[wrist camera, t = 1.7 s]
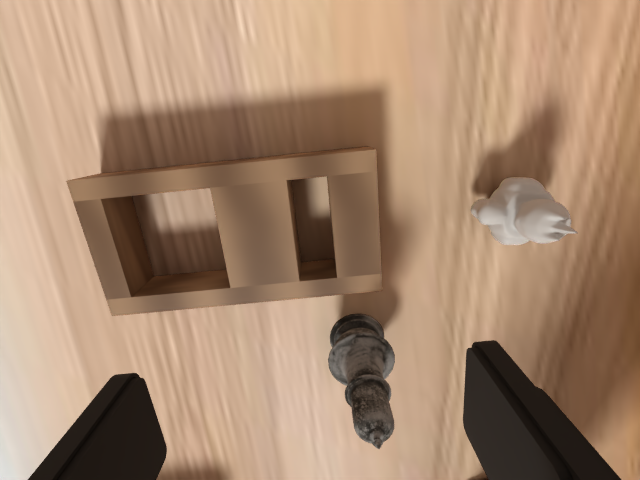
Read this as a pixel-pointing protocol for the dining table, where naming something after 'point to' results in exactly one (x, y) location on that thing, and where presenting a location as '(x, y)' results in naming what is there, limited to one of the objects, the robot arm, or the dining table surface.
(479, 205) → the white rounded irregular piece
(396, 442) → the dining table surface
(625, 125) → the dining table surface
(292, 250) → the frame
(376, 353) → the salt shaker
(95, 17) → the dining table surface
